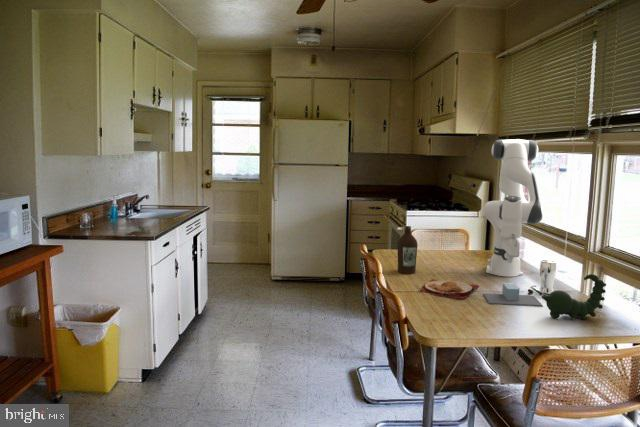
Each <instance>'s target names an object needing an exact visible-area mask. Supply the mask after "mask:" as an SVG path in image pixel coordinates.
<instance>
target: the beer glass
mask: <svg viewBox="0 0 640 427" xmlns="http://www.w3.org/2000/svg"><path fill="white" fill-rule="evenodd" d="M556 274H557V261H556V260H554V259H541V260H540V265H539V279H540V287H539V291H540V292H539V293H541V292H543V293H542V294H544V293H546V294H545V295H549V294H550V293H551V292H553V291H554V282H555V279H556Z"/></svg>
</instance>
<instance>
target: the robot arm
mask: <svg viewBox="0 0 640 427" xmlns="http://www.w3.org/2000/svg"><path fill="white" fill-rule="evenodd" d="M491 146H492V147H491V155H492V158H494V159H495V160H497V161H501V162H502V163H501V166H500V175H499V184H498V186H499V187H498V188H499V190H500V192H501V193H503V194H505V195H506V196H505V197H504V198H503V200H491V201H490V200H488V201H487V202H485V204H484V205H483V208H482V212H483V216H484V217H485V219H487V221H489V222H490V224H491V225H492V227H493V230H494V234H495V235H494V238H495V240H494V242H495V243H494V248H493V254H492V256H491V258H489V259H487V264H488V265H486V269H485V270H486V271H485V272H486V273H487V274H491V275H494V276H500V277H509V278H510V277H518V276H522V275H524V272H523V271H521V259H520V258H519V257H520V253H521V252H520V251H521V249H520V248H521V247H520V246H521V245H520V239H519V238H522V234H523V233H522V232H523V225H522V224H529V225H536V224H538V223H540V222H541V221H542V220H543V214H544V211H543V208H542V205H541V201H540V200H541V199H540V196H539V194H540V193H539V189H538V183H537V179H536V176H535V173H534V172H532V171H531V170H530V168H529V166H528V164H529V162H532V161H534V160H535V159H536V158H537V156H538V153H539V146H538V143H537V142H536V140H535V141H534V140H531V139H528V140H527V139H520V138H516V139H514V138H513V139H502V138H501V139H497V140H495V141H494V142H493V144H492V145H491ZM523 186H524V188H526V189H527V192H528V197H529V201H528V200H526V198H525V196H524V192H523Z"/></svg>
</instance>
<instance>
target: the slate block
mask: <svg viewBox="0 0 640 427" xmlns="http://www.w3.org/2000/svg"><path fill="white" fill-rule="evenodd" d="M501 290H502V291H501V294H503V295H504V297H505V298H506V299H507V300H519V295H520V288H519V287H518V286H517V285H516V284H515V283H514V282H502V288H501Z"/></svg>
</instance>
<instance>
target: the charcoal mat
mask: <svg viewBox="0 0 640 427" xmlns="http://www.w3.org/2000/svg"><path fill="white" fill-rule="evenodd" d="M483 296H484V298H485V300H486V301H487V303H488V304H489V305H504V306H505V305H506V306H525V307H541V308H542V307H544V306H543V303H541V302H540V301H539V300H538V298H537V297H536V296H535V295H526V294H519V300H507V299H506V298H505V297H504V295H503V294H502V293H486V292H484V293H483Z"/></svg>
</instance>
